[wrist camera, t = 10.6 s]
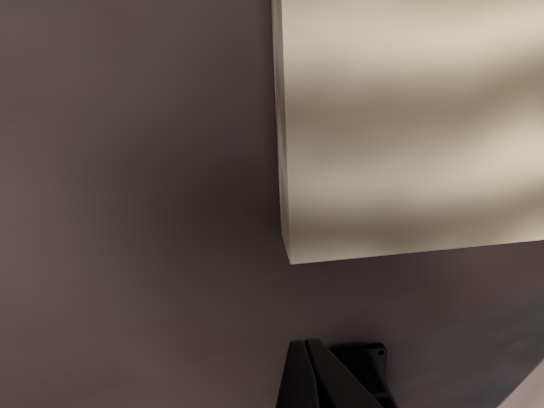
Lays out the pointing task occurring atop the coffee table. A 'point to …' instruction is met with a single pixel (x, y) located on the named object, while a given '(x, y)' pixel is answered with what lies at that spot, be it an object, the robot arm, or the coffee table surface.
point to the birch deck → (408, 125)
